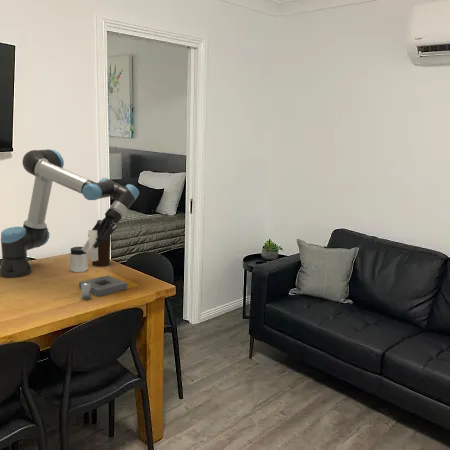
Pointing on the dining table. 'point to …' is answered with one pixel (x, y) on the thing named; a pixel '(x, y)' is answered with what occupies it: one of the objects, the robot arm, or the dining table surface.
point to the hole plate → (105, 285)
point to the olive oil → (103, 253)
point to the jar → (78, 260)
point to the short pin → (85, 290)
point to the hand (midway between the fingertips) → (86, 251)
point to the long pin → (92, 238)
